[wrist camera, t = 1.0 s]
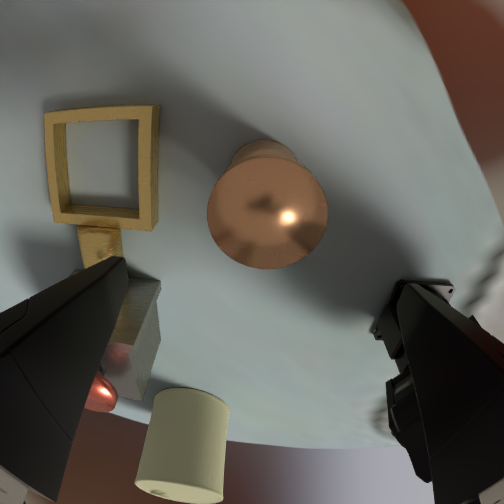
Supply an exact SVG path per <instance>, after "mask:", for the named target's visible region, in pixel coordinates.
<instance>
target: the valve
mask: <svg viewBox="0 0 504 504" xmlns="http://www.w3.org/2000/svg"><path fill="white" fill-rule="evenodd" d="M77 234H78V240H79V246H80V252H81V257H82V262H83V267H84V269H86V268H88V267H90V266H92V265H94V264H96V263H98V262H100V261H102V260H104V259H107V258H109V257H111V256H120V257H123V249H122V239H121V229H120V228H111V227H100V226H89V225H80V226H79V227H78V228H77ZM80 271H82V270H77V269H75V270H74V271H73V272H72V273H71V275H70V276H72V275H74V274H76V273H78V272H80ZM70 276H69V277H70ZM160 291H161V281H155V280H147V279H140V278H132V277H128V287H127V290H126V293H125V297H124V300H123V303H122V306H121V310H120V313H119V316H118V320H117V323H116V326H115V328H114V331H113V333H112V336H111V338H110V340H109V343H108V345H107V348H106V350H105V353H104V355H103V358H102V360H101V363H100V365H99V368H98V370H97V373H96V376H95V378H94V381H93V384H92V386H91V389H90V392H89V395H88V398H87V400H86V403H85V406H84V407H85V408H87V409H90V410H93V411H97V412H109V411H112V410H113V409H114V408H115V405H116V402H117V399H118V396H120V397H125V398H129V399H134V400H138V401H142V399H143V396H144V393H145V389H146V386H147V382H148V379H149V376H150V373H151V369H152V366H153V363H154V360H155V356H156V353H157V350H158V347H159V344H160V341H161V338H160V330H159V321H158V312H157V302H156V300H157V298H158V296H159V293H160Z"/></svg>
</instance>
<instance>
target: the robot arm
mask: <svg viewBox="0 0 504 504" xmlns="http://www.w3.org/2000/svg"><path fill="white" fill-rule="evenodd" d="M402 285H403V286H402ZM400 286H402V287H400ZM127 287H128V273H127V266H126V260H125V258H124V257H120V256H111V257H109V258H107V259H104V260H102V261H100V262H98V263H96V264H94V265H92V266H90V267H88V268H86V269H84V270H82V271H80V272H78V273H76V274H74V275H72V276H70V277H68V278H66V279H64V280H62V281H60V282H58V283H56V284H54V285H53V286H51V287H49V288H47V289H45V290H43V291H41V292H39V293H37V294H35V295H34V296H32V297H30V298H29V299H26V300H24V301H22V302H21V303H19V304H17V305H15V306H13V307H11V308H9V309H7V310H5V311H3V312H1V313H0V504H26V503H25V501H24V499H25V496H26V493H27V490H28V489H29V490H31V491H33V492H35V493H36V494H38V495H40V496H43V497H44V498H47V499H49V500H51V501H53V502H57V499H58V495H59V491H60V487H61V483H62V479H63V475H64V472H65V468H66V464H67V461H68V457H69V453H70V450H71V447H72V442H73V440H74V436H75V433H76V430H77V427H78V424H79V421H80V418H81V415H82V412H83V409H84V406H85V403H86V400H87V398H88V395H89V392H90V389H91V386H92V384H93V381H94V378H95V376H96V373H97V370H98V368H99V365H100V363H101V360H102V358H103V355H104V353H105V350H106V348H107V345H108V343H109V340H110V338H111V336H112V333H113V331H114V328H115V326H116V323H117V320H118V316H119V313H120V310H121V306H122V303H123V300H124V297H125V293H126V290H127ZM454 291H455V287H454V286H453V285H452V284H446V283H434V282H422V281H410V280H400V281H398V282H397V283H396V285H395V287H394V290H393V292H392V294H391V297H390V299H389V301H388V303H387V305H386V307H385V309H384V311H383V314H382V316H381V318H380V320H379V322H378V324H377V328H376V330H375V332H374V337H375V339H376V340H383V341H384V344H385V346H386V349H387V351H388V354H389V356H390V358H391V359H395V362H396V364H397V367H398V370H399V372H400V374H399V375H398V376H396V377H395V378H393V379H390V380H388V381H387V382H386V395H387V406H388V419H389V427H390V429H391V433H392V435H393V436H394V437H395V438H396V439H397V441H398V442H399V443H400V444H401V446H403V447H404V448H406V450H407V452H408V454H409V456H410V459H411V462H412V465H413V468H414V470H415V473H416V475H417V476H418V477H419V478H420V479H422V480H423V481H424V482H426V483H429V482H431V481H432V483H433V491H434V500H435V504H504V344H503V343H502V342H501V341H499V340H498V339H497V338H495V337H494V336H492V335H491V334H490V333H488V332H487V331H485V330H484V329H483V328H482V327H481V326H480V325H479V323H478V322H477V320H476V319H475V317H474V316H473V315H472V316H471V317H469V318H467V317H466V316H464V315H463V314H461V313H460V312H458V311H457V310H456V309H454V308H453V307H451V305H450V304H449V301H450V299H451V297H452V295H453V293H454Z"/></svg>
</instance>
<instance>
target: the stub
mask: <svg viewBox="0 0 504 504" xmlns="http://www.w3.org/2000/svg"><path fill="white" fill-rule="evenodd" d="M207 220H208V226H209V229H210V232H211V235H212V237H213V239H214V241H215V242H216V244H217V245H218V246H219V248H220V249H221V250H222V251H223V252H224V253H225V254H226V255H228V256H229V257H230V258H232V259H233V260H235V261H237V262H239V263H241V264H243V265H246V266H249V267H253V268H259V269H276V268H281V267H285V266H288V265H291V264H293V263H296V262H297V261H299V260H301V259H303V258H304V257H305V256H307V255H308V254H309V253H310V252H311V251H312V250H313V249H314V248H315V247H316V246H317V244H318V243H319V241H320V240H321V238H322V236H323V234H324V232H325V229H326V225H327V220H328V207H327V201H326V197H325V195H324V192H323V190H322V188H321V186H320V185H319V183H318V182H317V180H316V178H315V177H314V176H313V175H312V173H311V172H310V171H309V170H308V169H306V168H305V167H304V166H303V165H301V164H300V163H298V161H297V159H296V157H295V156H294V154H293V153H292V152H291V151H290V150H289V149H288V148H287V147H286V146H284V145H283V144H281V143H279V142H276V141H272V140H257V141H253V142H250V143H248V144H246V145H245V146H243V147H242V148H241V149H240V150H238V152H237V153H236V154H235V156H234V157H233V159H232V161H231V164H230V167H229V168H228V169H227V170H226V171H225V172H224V173H223V174H222V176H221V177H220V178H219V179H218V181H217V183H216V184H215V186H214V189H213V191H212V193H211V196H210V199H209V202H208V208H207Z"/></svg>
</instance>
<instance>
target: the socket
mask: <svg viewBox="0 0 504 504" xmlns="http://www.w3.org/2000/svg"><path fill="white" fill-rule="evenodd" d="M123 119H139V134H138V185H139V209H128V208H115V207H100V206H85V205H71V200H70V191H69V180H68V168H67V152H66V123H67V122H80V121H96V120H123ZM159 120H160V105H116V106H99V107H86V108H75V109H65V110H57V111H53V112H48V113H44V126H45V149H46V163H47V174H48V184H49V192H50V200H51V207H52V213H53V220H54V222H55V223H67V224H78V225H89V226H100V227H111V228H121V229H132V230H142V231H152V230H153V228H154V227H155V226H156V224H157V223H158V145H159Z"/></svg>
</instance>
